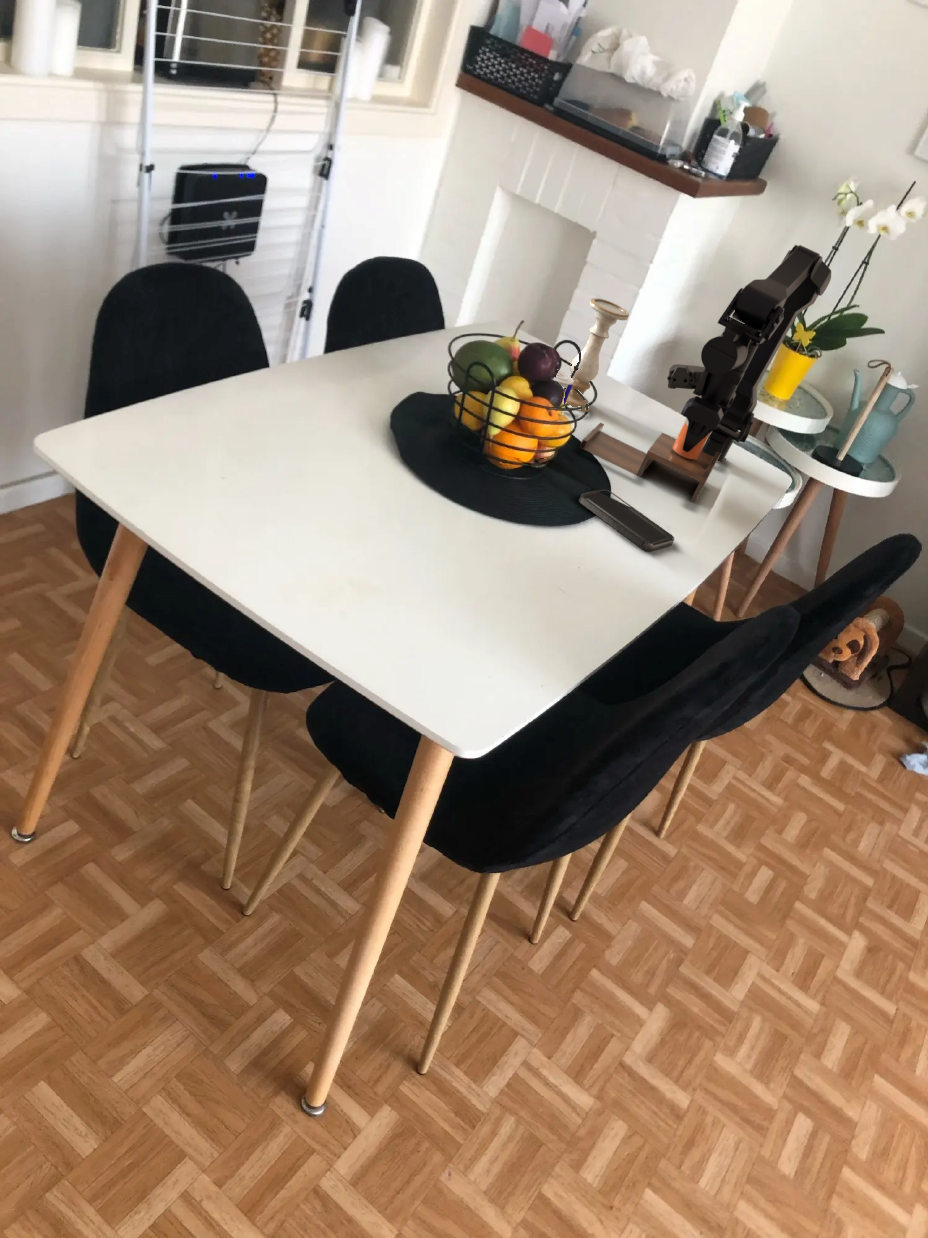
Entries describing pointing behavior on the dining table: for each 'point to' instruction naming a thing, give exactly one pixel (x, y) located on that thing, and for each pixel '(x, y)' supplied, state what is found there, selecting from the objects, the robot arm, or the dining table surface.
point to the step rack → (649, 456)
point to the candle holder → (593, 349)
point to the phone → (627, 520)
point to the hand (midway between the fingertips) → (687, 446)
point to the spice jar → (679, 443)
